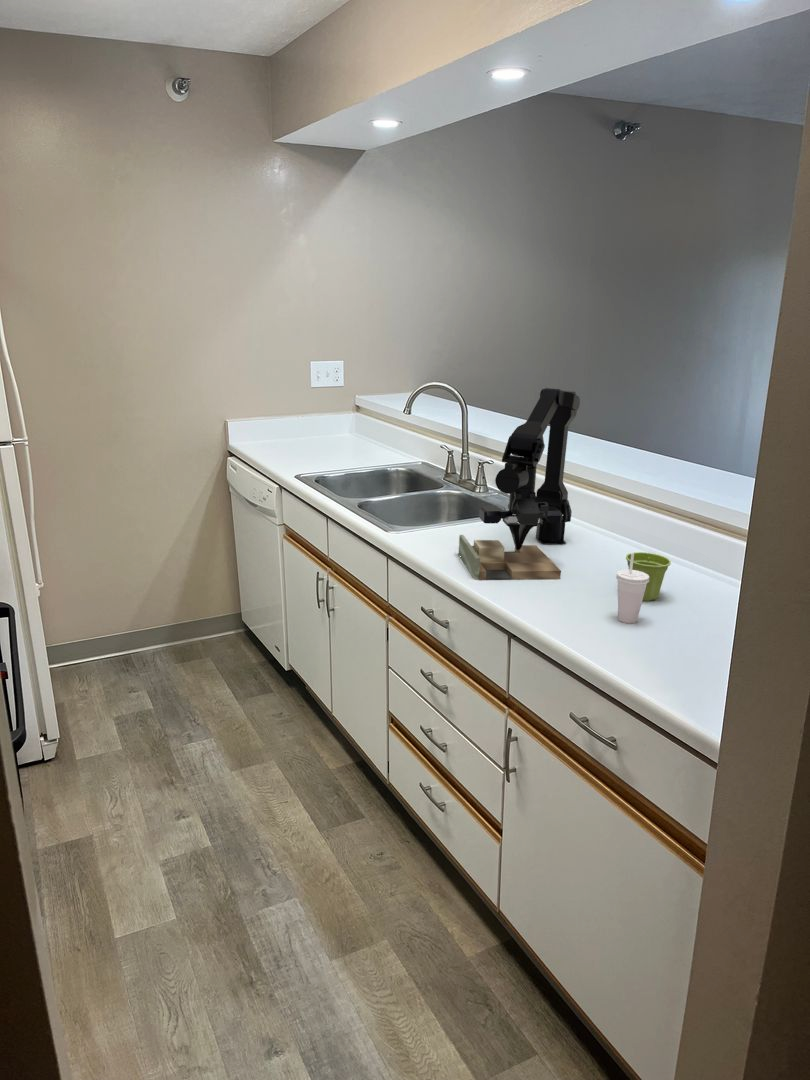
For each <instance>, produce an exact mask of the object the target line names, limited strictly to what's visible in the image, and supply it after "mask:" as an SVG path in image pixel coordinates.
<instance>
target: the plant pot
mask: <svg viewBox="0 0 810 1080" xmlns="http://www.w3.org/2000/svg"><path fill="white" fill-rule="evenodd" d="M631 553H632V552H630V553H627V554H626V555H625V560H626V561H627V567H628V569H629V568H630V560H631ZM633 553H634V559H633V568H632V570H637V571H641V572H644V573H646V574H648V575H649V582H648V583H647V585H646V589H645V592H644V596H643V600H642V601H645V602H648V601H652V600H653V601H657V600H658V598H659V596H660V591H661V588H662V585H663V581H664V579H665V574H666V572H667V571H668V567H669V566H670V565H671V564H672V562H671V559H669V558H668V557H666V556H664V555H661V554H656V553H652V552H642V551H641V552H640V551H639V552H638V551H637V552H633Z"/></svg>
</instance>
